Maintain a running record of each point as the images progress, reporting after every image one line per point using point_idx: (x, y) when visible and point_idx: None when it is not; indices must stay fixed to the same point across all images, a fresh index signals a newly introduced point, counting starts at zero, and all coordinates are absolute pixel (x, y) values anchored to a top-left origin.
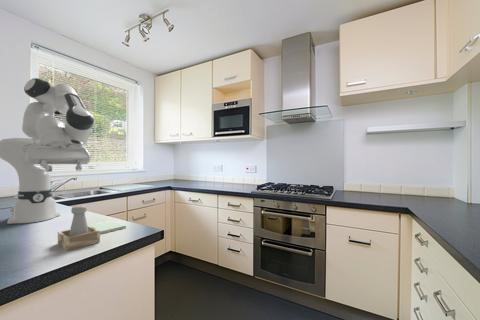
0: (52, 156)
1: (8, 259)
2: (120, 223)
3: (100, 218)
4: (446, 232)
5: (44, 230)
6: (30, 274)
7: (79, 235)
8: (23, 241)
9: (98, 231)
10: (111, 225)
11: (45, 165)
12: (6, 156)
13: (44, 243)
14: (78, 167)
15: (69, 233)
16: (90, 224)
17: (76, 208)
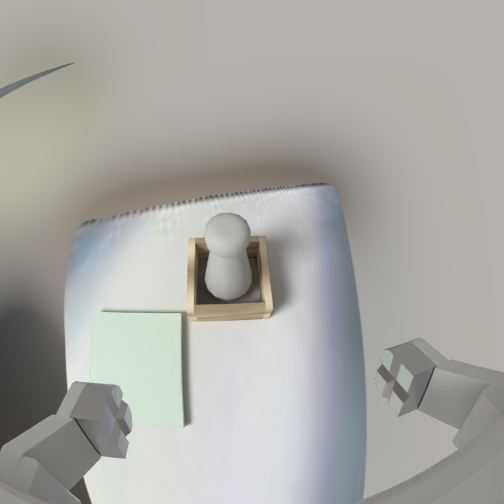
0: (495, 467)
1: (351, 286)
2: (91, 348)
3: (107, 491)
4: (30, 80)
5: (278, 486)
6: (315, 196)
7: None
8: (333, 405)
9: (192, 238)
10: (116, 350)
11: (454, 366)
12: None
13: (293, 347)
14: (103, 385)
15: (250, 277)
16: (156, 422)
17: (239, 215)
